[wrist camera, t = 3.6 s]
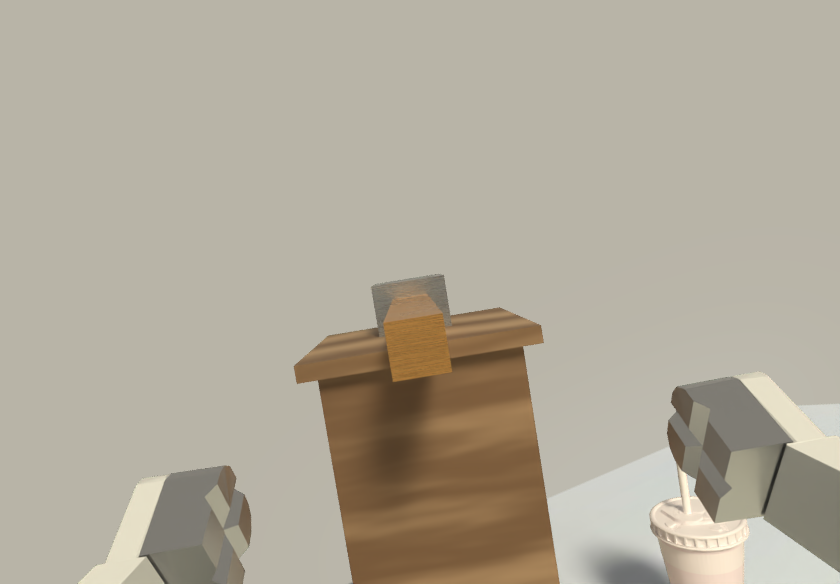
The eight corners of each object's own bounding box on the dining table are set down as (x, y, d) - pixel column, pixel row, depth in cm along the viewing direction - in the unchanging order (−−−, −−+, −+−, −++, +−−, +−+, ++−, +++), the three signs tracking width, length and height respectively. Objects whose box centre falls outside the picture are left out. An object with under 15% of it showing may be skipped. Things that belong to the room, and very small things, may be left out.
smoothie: (675, 608, 45) (650, 438, 45) (768, 627, 42) (743, 442, 41) (658, 662, 40) (630, 470, 39) (763, 688, 36) (734, 477, 36)
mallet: (484, 366, 23) (470, 280, 22) (360, 387, 22) (345, 300, 22) (445, 317, 45) (438, 273, 44) (383, 327, 44) (375, 284, 44)
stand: (608, 763, 33) (540, 325, 32) (370, 806, 33) (293, 366, 31) (547, 615, 47) (499, 307, 46) (381, 644, 47) (328, 335, 45)
